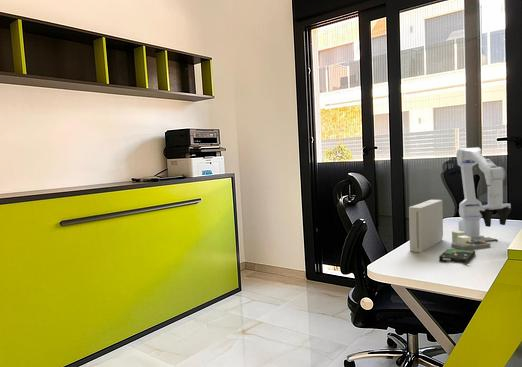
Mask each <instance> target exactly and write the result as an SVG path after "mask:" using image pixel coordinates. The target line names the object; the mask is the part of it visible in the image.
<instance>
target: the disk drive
mask: <svg viewBox="0 0 522 367" xmlns="http://www.w3.org/2000/svg"><path fill="white" fill-rule="evenodd" d="M474 256H476V251H475V250H472V249H471V250H462V249H461V250H459V249H456V248H452V247H451V248H448V249H446V250H445V251H443V253H441V254H440V255H439V257H438V260H439V262H441V263H448V264H449V263H458V264H459V263H460V264H463V266H467V265H468V264H469V262H470V261H471V260H472V259H473V258H474Z"/></svg>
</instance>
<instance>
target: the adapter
mask: <svg viewBox="0 0 522 367" xmlns="http://www.w3.org/2000/svg"><path fill="white" fill-rule="evenodd" d="M471 239H472V238H471V237H469V236H465V235H463V236H457V245H460V246H471V244H473V243H471Z"/></svg>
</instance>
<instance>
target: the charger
mask: <svg viewBox="0 0 522 367" xmlns="http://www.w3.org/2000/svg"><path fill="white" fill-rule="evenodd" d="M463 235H465V236H466V232H463V231H459V230H455V231H454V230H453V231H452V232H451V238H452V239H451V241H452V243H451V244H453V243H457V236H463Z"/></svg>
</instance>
